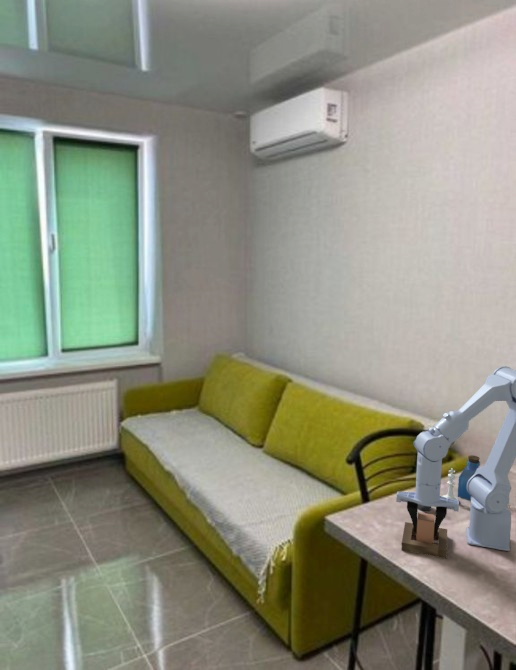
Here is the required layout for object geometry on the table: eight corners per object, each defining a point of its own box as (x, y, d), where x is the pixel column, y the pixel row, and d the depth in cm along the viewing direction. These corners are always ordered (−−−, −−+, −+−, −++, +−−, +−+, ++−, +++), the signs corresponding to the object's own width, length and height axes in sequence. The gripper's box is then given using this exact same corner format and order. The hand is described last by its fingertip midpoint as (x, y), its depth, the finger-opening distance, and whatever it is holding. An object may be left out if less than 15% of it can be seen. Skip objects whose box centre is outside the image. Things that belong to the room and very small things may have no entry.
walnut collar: (446, 536, 133) (447, 529, 132) (446, 558, 123) (447, 550, 123) (404, 529, 136) (405, 521, 136) (401, 550, 126) (401, 542, 126)
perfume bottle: (463, 489, 160) (465, 451, 158) (484, 494, 156) (487, 456, 154) (457, 496, 155) (460, 458, 153) (479, 502, 151) (482, 463, 149)
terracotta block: (433, 537, 131) (434, 514, 130) (433, 545, 127) (434, 522, 126) (416, 534, 132) (418, 512, 131) (416, 542, 128) (417, 519, 127)
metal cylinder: (431, 506, 149) (432, 489, 148) (430, 512, 145) (431, 495, 144) (416, 503, 150) (417, 487, 149) (416, 510, 146) (416, 493, 146)
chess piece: (460, 505, 149) (462, 472, 147) (442, 504, 150) (444, 471, 148) (457, 498, 154) (459, 466, 152) (439, 496, 155) (441, 464, 153)
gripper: (459, 478, 128) (456, 529, 130) (399, 470, 133) (396, 519, 135) (460, 490, 122) (456, 544, 124) (396, 481, 127) (394, 533, 129)
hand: (425, 532), depth 129 cm, fingers closed on terracotta block, 4 cm apart
